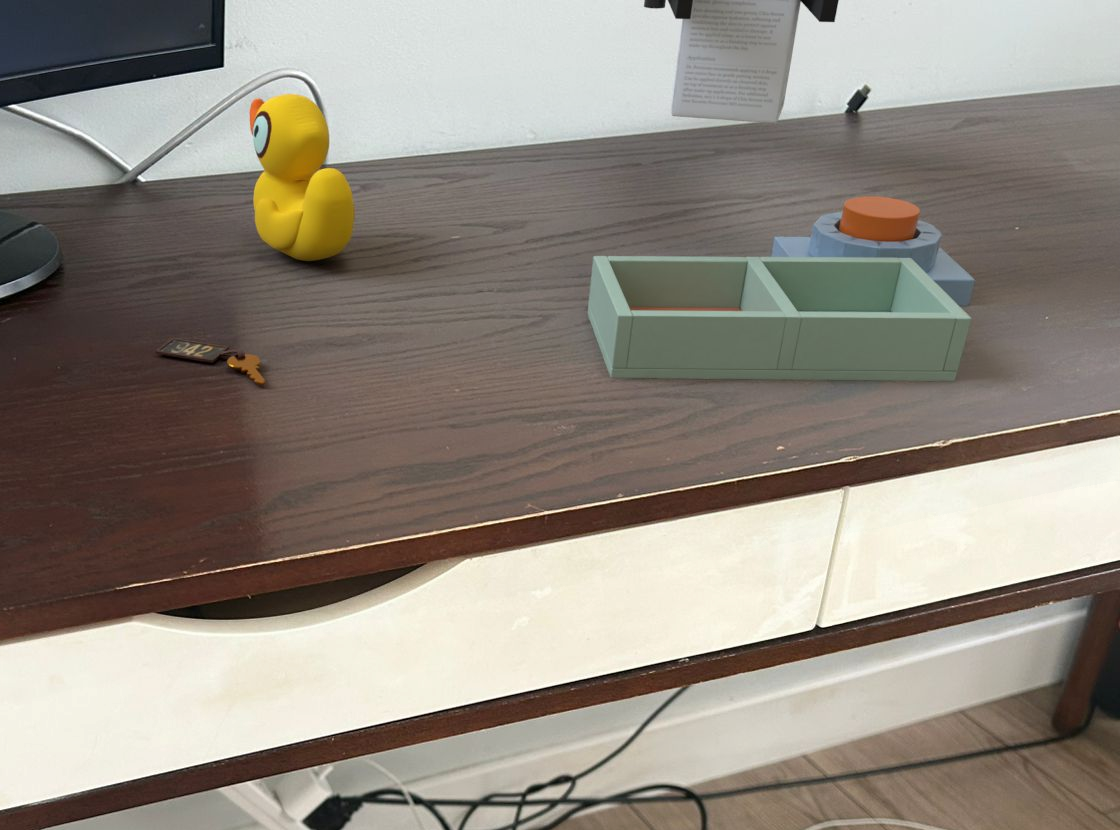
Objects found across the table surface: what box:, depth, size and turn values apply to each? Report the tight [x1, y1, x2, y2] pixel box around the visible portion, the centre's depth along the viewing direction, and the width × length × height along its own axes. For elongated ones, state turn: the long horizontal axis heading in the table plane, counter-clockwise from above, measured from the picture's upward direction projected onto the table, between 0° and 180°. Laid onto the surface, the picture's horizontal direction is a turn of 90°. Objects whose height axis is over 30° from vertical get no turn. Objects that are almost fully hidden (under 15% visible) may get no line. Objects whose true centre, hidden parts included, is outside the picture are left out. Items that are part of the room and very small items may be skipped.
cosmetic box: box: [670, 0, 802, 124], centre depth 75 cm, size 6×4×12 cm
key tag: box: [155, 337, 266, 386], centre depth 76 cm, size 8×3×1 cm, turn 53°
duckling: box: [249, 93, 356, 262], centre depth 89 cm, size 11×5×10 cm, turn 29°
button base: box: [770, 210, 976, 307], centre depth 85 cm, size 10×8×4 cm
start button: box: [839, 196, 921, 242], centre depth 84 cm, size 4×4×2 cm
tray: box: [587, 255, 972, 382], centre depth 77 cm, size 18×10×4 cm, turn 88°
